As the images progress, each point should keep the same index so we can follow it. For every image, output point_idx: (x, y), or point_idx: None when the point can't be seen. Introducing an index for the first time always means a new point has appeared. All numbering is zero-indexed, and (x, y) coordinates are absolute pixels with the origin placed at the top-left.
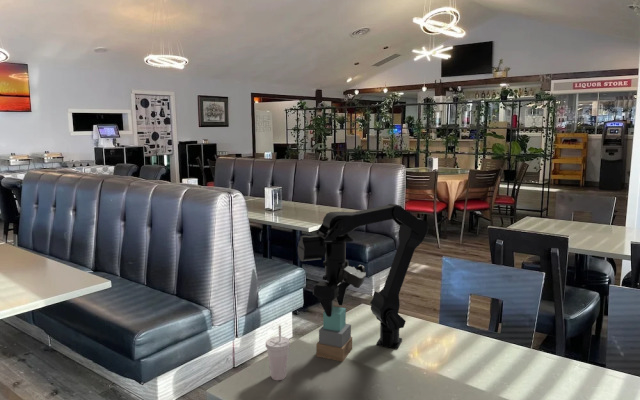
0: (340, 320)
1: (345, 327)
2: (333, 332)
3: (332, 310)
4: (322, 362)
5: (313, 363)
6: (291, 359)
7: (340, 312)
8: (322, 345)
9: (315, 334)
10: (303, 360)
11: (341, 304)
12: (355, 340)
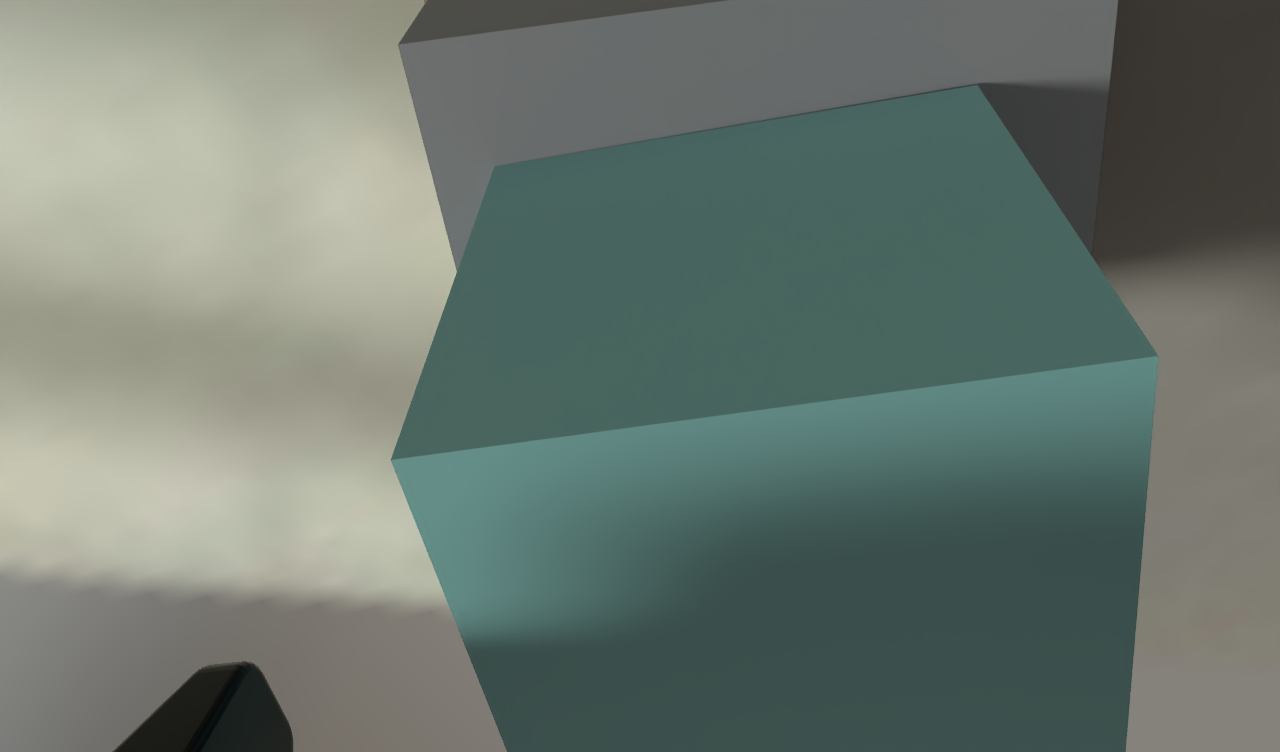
0: (1012, 227)
1: (650, 84)
2: (1092, 198)
3: (878, 700)
4: (1126, 88)
5: (1201, 186)
6: (1180, 467)
7: (943, 429)
8: None
9: (400, 561)
10: (1157, 340)
11: (247, 699)
12: (134, 3)
